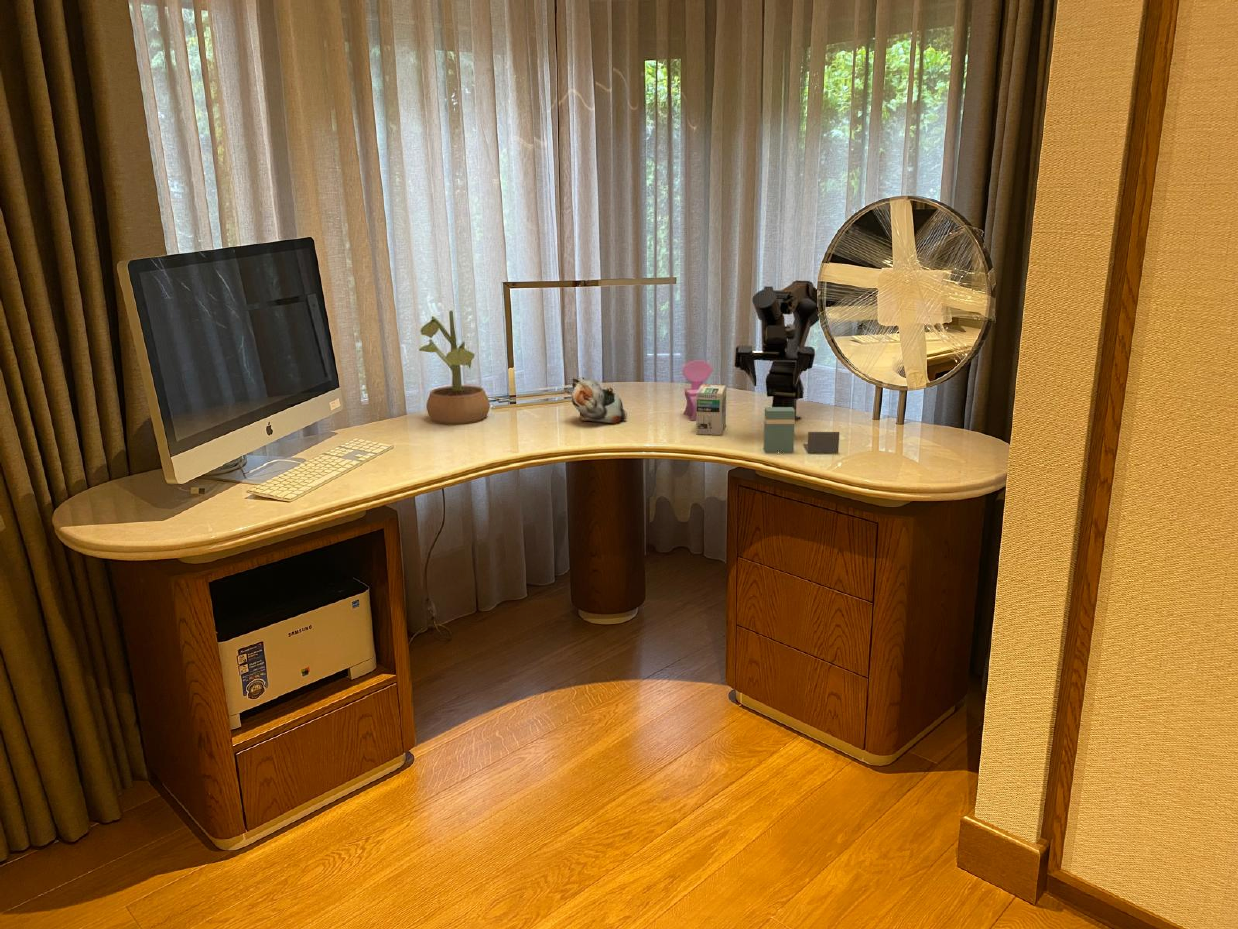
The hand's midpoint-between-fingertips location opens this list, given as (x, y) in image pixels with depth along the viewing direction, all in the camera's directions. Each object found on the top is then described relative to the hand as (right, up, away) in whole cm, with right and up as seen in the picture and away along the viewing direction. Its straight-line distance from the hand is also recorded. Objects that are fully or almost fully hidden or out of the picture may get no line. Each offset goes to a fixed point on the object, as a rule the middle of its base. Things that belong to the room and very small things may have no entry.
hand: (775, 385), depth 218 cm
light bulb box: (-13, -10, +17) cm, 24 cm away
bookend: (+10, -15, -1) cm, 18 cm away
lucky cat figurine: (-42, -7, +28) cm, 51 cm away
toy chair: (-15, -6, +31) cm, 35 cm away
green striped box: (0, -15, -2) cm, 16 cm away
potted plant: (-81, -7, +30) cm, 87 cm away
